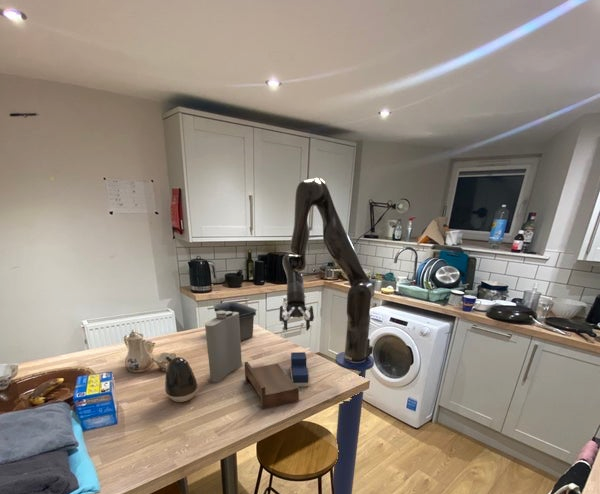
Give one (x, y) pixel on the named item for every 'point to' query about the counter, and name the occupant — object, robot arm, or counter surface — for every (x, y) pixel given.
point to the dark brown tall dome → (180, 380)
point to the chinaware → (143, 354)
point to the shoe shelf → (271, 385)
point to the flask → (223, 344)
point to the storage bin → (240, 316)
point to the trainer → (299, 369)
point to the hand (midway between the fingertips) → (296, 329)
